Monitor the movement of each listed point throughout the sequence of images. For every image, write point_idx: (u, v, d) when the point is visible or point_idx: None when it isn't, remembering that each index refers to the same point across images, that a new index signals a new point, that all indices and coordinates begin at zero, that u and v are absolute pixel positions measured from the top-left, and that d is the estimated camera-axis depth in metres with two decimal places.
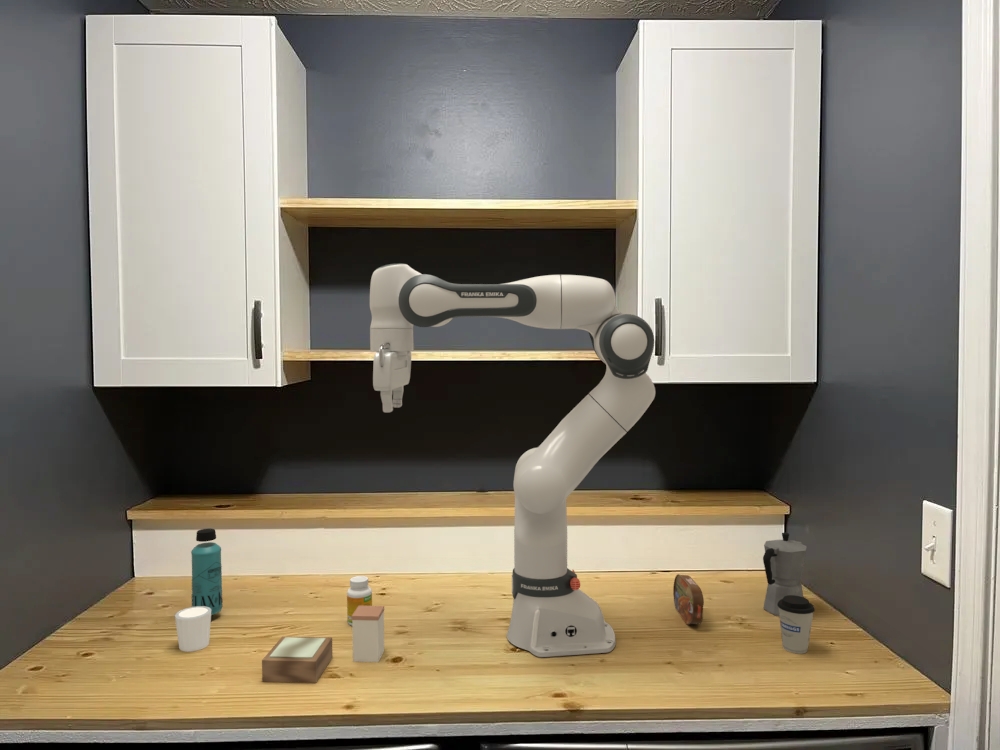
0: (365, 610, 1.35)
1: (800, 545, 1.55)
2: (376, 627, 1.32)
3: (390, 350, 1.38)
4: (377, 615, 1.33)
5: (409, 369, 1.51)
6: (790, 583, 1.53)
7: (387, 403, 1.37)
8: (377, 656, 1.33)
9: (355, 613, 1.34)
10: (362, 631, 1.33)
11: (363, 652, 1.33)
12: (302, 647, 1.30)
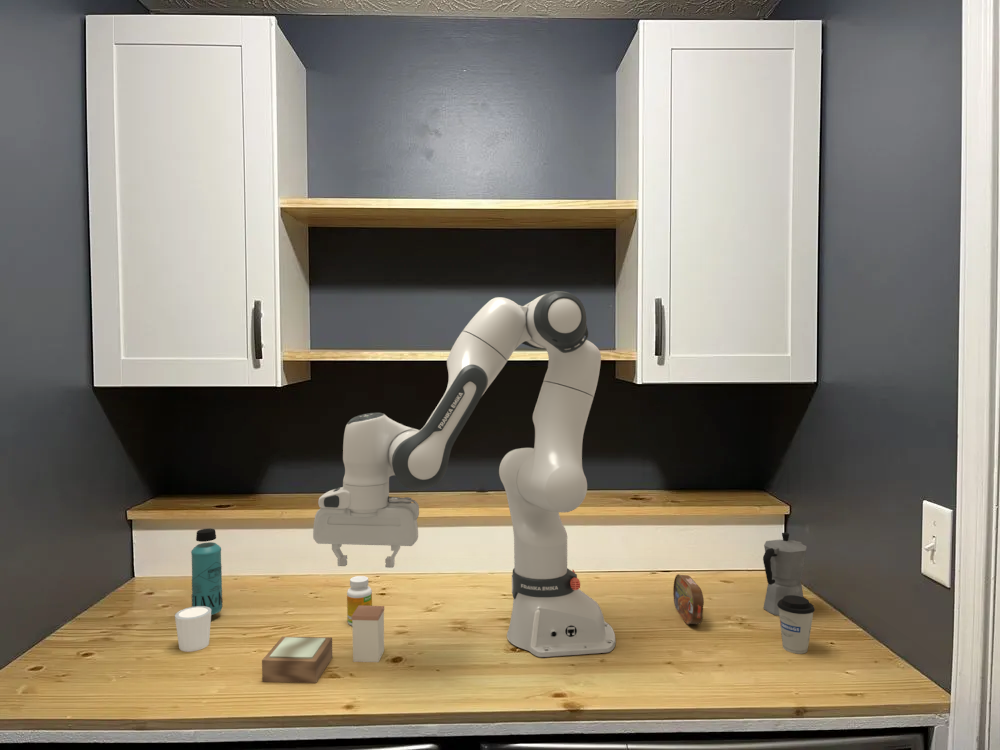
0: (365, 610, 1.35)
1: (800, 545, 1.55)
2: (376, 627, 1.32)
3: None
4: (377, 615, 1.33)
5: None
6: (790, 583, 1.53)
7: (394, 557, 1.34)
8: (377, 656, 1.33)
9: (355, 613, 1.34)
10: (362, 631, 1.33)
11: (363, 652, 1.33)
12: (302, 647, 1.30)
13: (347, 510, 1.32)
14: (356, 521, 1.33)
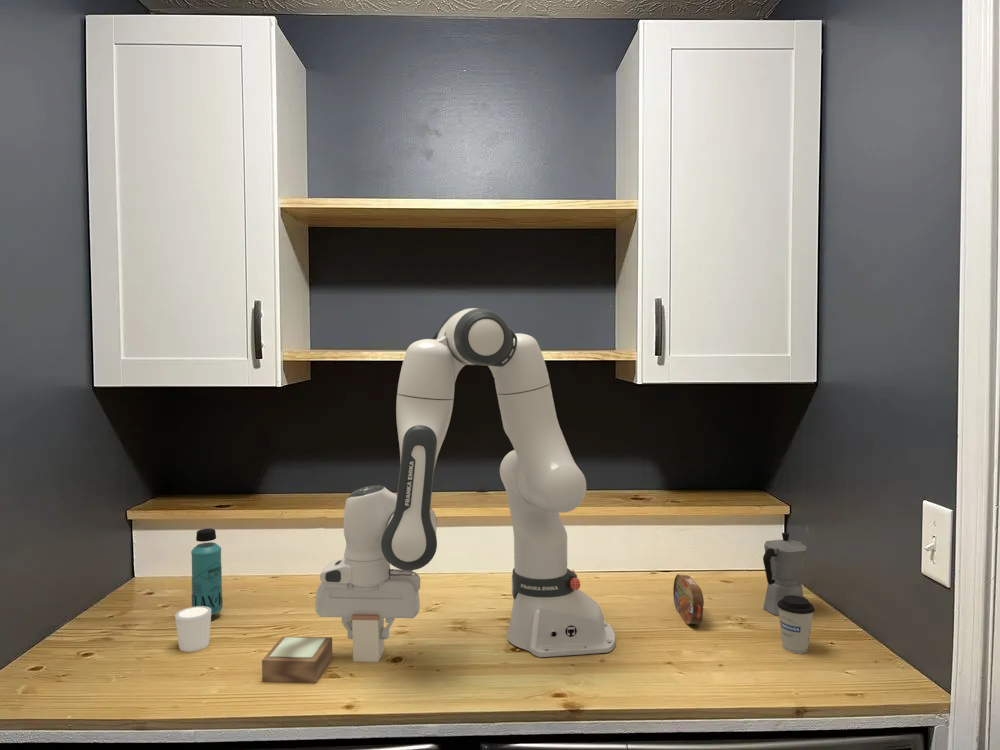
0: None
1: (800, 545, 1.55)
2: (376, 627, 1.32)
3: None
4: (377, 615, 1.33)
5: None
6: (790, 583, 1.53)
7: None
8: (377, 656, 1.33)
9: None
10: (362, 631, 1.33)
11: (363, 652, 1.33)
12: (302, 647, 1.30)
13: (349, 584, 1.33)
14: (358, 594, 1.33)
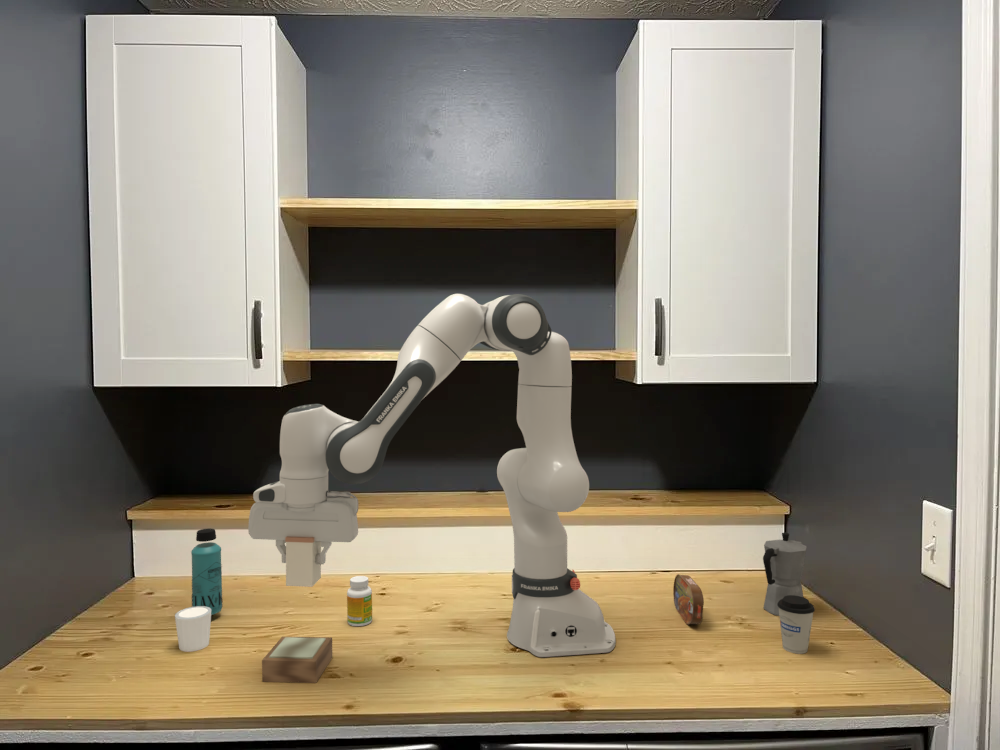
0: None
1: (800, 545, 1.55)
2: (310, 550, 1.27)
3: None
4: (312, 537, 1.27)
5: None
6: (790, 583, 1.53)
7: (325, 554, 1.30)
8: (311, 581, 1.27)
9: None
10: (296, 553, 1.27)
11: (296, 576, 1.27)
12: (302, 647, 1.30)
13: (283, 504, 1.27)
14: (293, 516, 1.28)
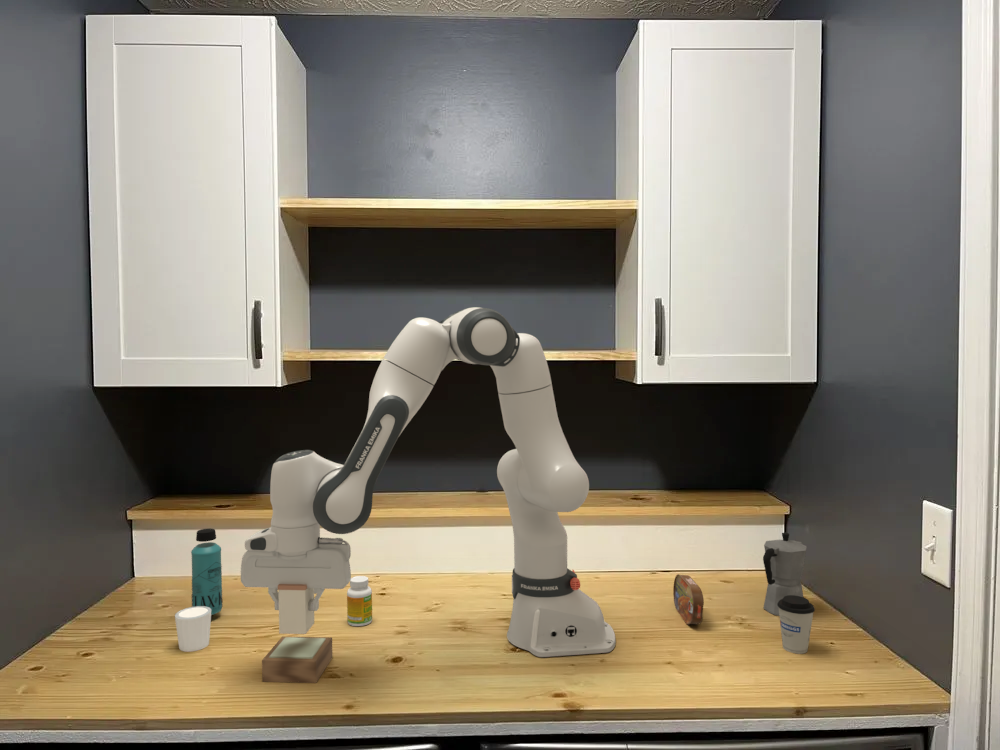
0: None
1: (800, 545, 1.55)
2: (303, 597, 1.27)
3: None
4: (304, 585, 1.27)
5: None
6: (790, 583, 1.53)
7: (318, 600, 1.29)
8: (304, 628, 1.27)
9: None
10: (289, 601, 1.27)
11: (289, 623, 1.27)
12: (302, 647, 1.30)
13: (275, 552, 1.27)
14: (285, 563, 1.28)
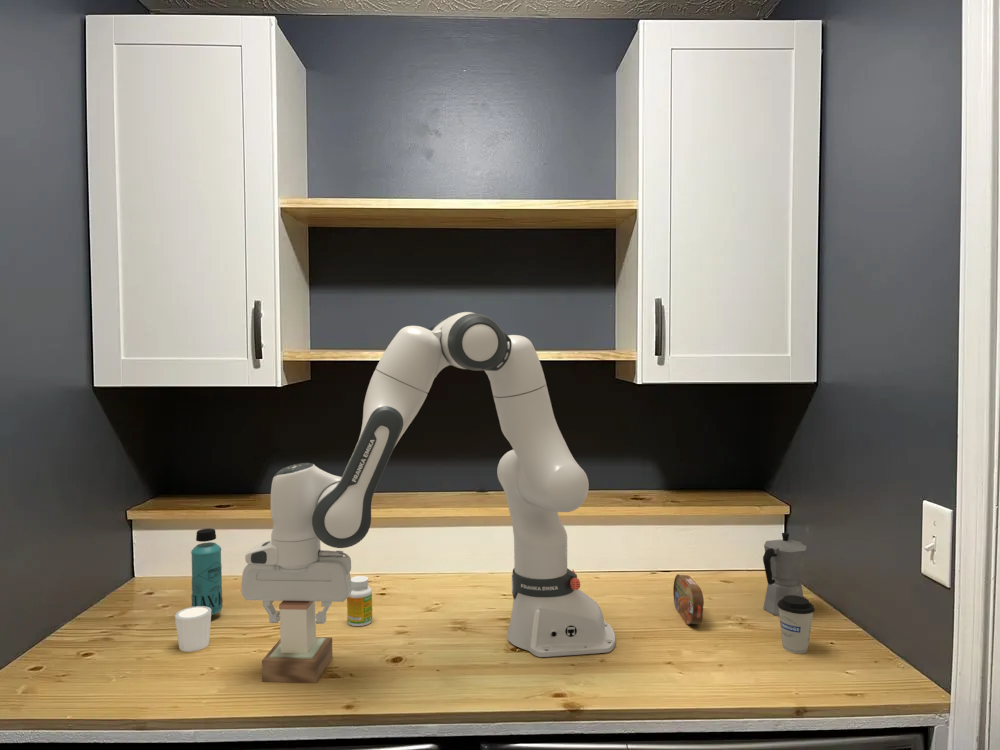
0: None
1: (800, 545, 1.55)
2: (304, 617, 1.27)
3: None
4: (306, 604, 1.27)
5: None
6: (790, 583, 1.53)
7: (325, 613, 1.29)
8: (306, 647, 1.27)
9: (283, 602, 1.28)
10: (290, 620, 1.27)
11: (291, 643, 1.27)
12: None
13: (276, 566, 1.27)
14: (286, 576, 1.28)
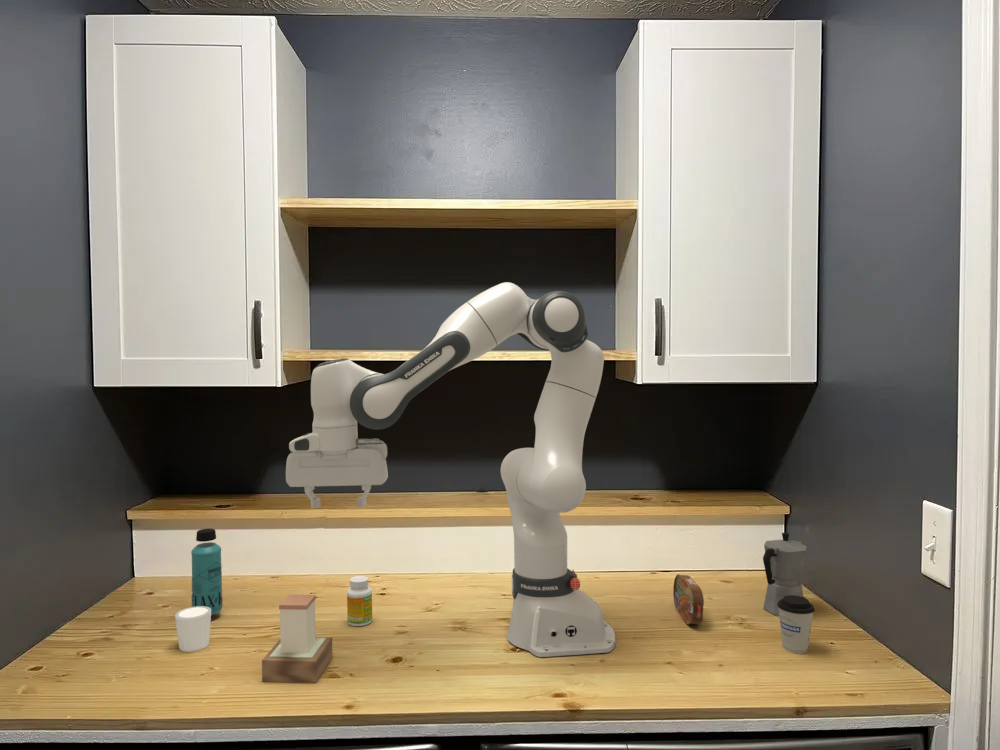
0: (294, 599, 1.30)
1: (800, 545, 1.55)
2: (304, 617, 1.27)
3: None
4: (306, 604, 1.27)
5: None
6: (790, 583, 1.53)
7: (365, 497, 1.39)
8: (306, 647, 1.27)
9: (283, 602, 1.28)
10: (290, 620, 1.27)
11: (291, 643, 1.27)
12: None
13: (317, 453, 1.36)
14: (327, 463, 1.37)
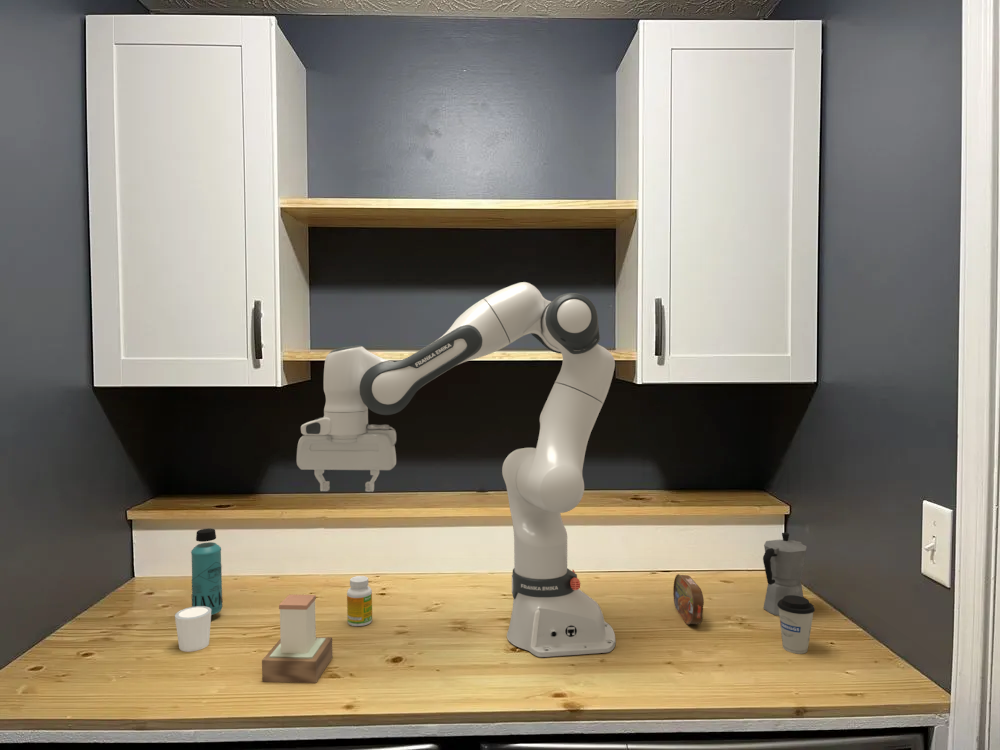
0: (294, 599, 1.30)
1: (800, 545, 1.55)
2: (304, 617, 1.27)
3: None
4: (306, 604, 1.27)
5: None
6: (790, 583, 1.53)
7: None
8: (306, 647, 1.27)
9: (283, 602, 1.28)
10: (290, 620, 1.27)
11: (291, 643, 1.27)
12: None
13: (328, 437, 1.40)
14: (337, 447, 1.40)
